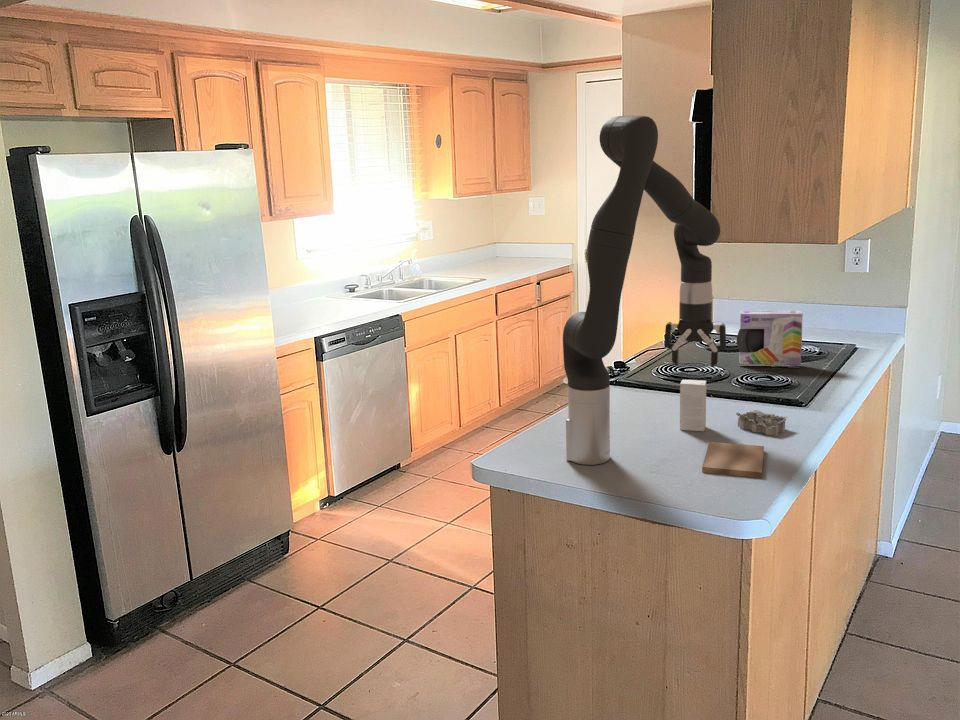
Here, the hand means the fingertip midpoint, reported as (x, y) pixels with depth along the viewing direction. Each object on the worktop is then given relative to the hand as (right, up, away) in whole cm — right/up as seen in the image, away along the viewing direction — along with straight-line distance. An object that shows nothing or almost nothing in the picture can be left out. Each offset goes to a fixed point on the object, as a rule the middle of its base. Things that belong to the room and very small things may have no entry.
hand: (694, 365), depth 193 cm
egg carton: (+17, -16, +2) cm, 23 cm away
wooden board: (+4, -21, -18) cm, 28 cm away
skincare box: (+1, -16, +4) cm, 16 cm away
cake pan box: (+38, -1, +57) cm, 69 cm away
